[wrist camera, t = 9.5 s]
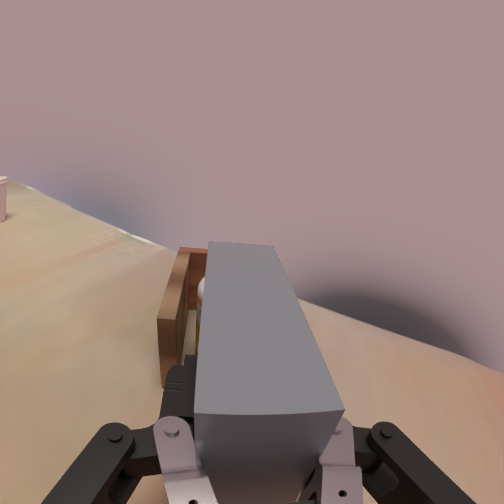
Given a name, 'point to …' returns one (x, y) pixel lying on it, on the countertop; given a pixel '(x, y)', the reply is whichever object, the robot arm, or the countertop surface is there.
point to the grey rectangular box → (258, 381)
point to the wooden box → (179, 305)
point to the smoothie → (3, 197)
